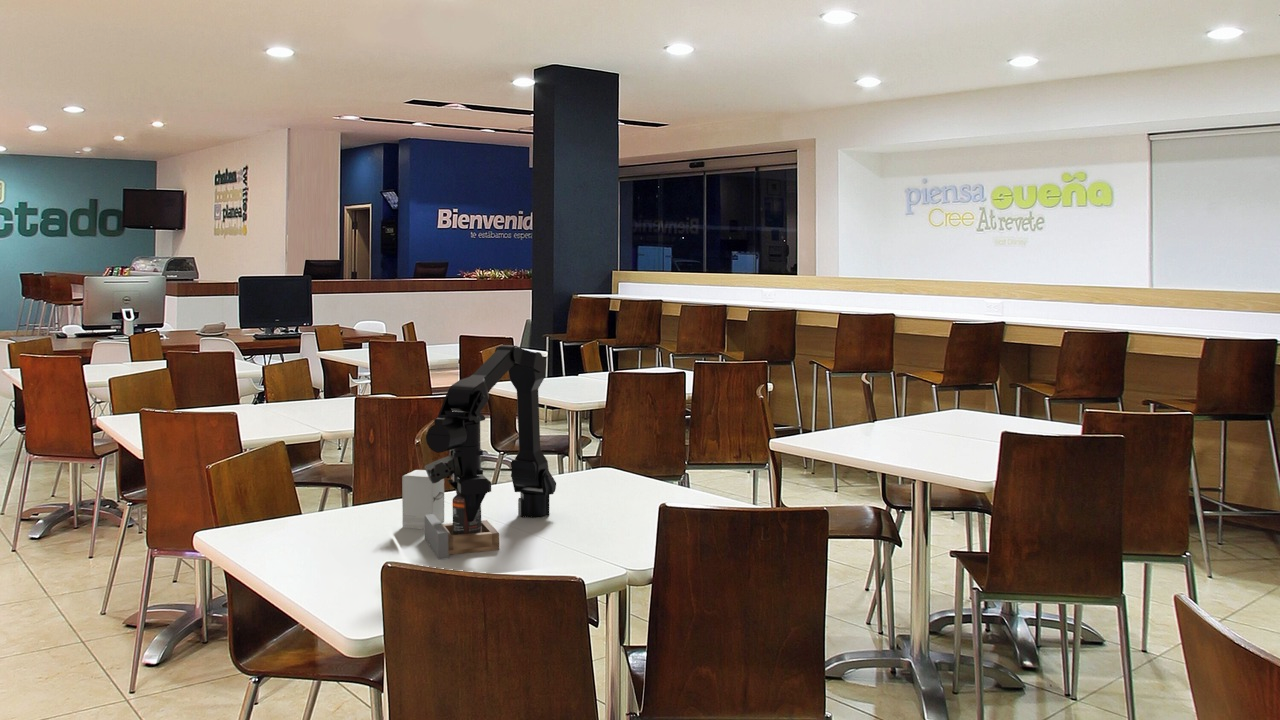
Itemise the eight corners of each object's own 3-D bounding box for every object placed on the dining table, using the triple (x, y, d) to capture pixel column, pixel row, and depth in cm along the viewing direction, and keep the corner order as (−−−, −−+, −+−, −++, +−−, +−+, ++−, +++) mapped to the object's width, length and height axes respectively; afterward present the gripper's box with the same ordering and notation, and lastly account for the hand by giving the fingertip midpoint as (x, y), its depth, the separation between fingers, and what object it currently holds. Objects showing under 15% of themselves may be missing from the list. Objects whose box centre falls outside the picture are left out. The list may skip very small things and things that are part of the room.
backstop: (521, 533, 223) (521, 506, 222) (541, 552, 208) (541, 524, 208) (424, 542, 215) (424, 514, 215) (438, 563, 200) (438, 533, 200)
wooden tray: (487, 535, 218) (487, 520, 217) (499, 549, 207) (499, 532, 207) (436, 540, 213) (436, 524, 213) (446, 554, 203) (445, 537, 203)
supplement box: (432, 533, 223) (432, 477, 221) (401, 531, 224) (400, 475, 223) (445, 524, 230) (445, 470, 229) (415, 522, 231) (414, 468, 230)
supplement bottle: (486, 536, 212) (486, 484, 211) (473, 544, 207) (472, 490, 205) (461, 533, 214) (461, 482, 213) (447, 541, 209) (446, 487, 207)
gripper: (420, 439, 214) (421, 510, 216) (435, 455, 197) (436, 532, 198) (471, 436, 218) (472, 506, 220) (491, 451, 201) (492, 527, 202)
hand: (467, 517), depth 210 cm, fingers closed on supplement bottle, 6 cm apart
